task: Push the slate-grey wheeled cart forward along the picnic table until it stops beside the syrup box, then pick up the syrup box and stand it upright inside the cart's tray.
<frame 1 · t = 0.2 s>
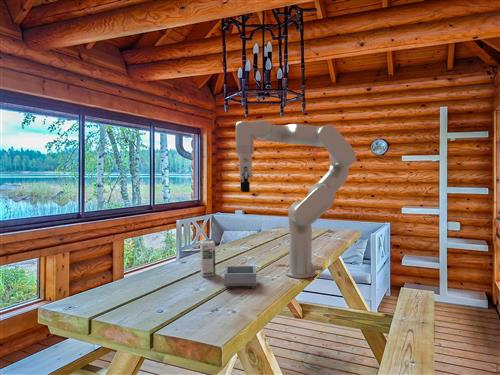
hand: (245, 191, 159), 36 cm above the table, tool pointing down, fingers open, 9 cm apart
cart: (240, 277, 147), point 3 cm above the table, slide at 0.0 cm
syrup box: (207, 275, 163), on the table
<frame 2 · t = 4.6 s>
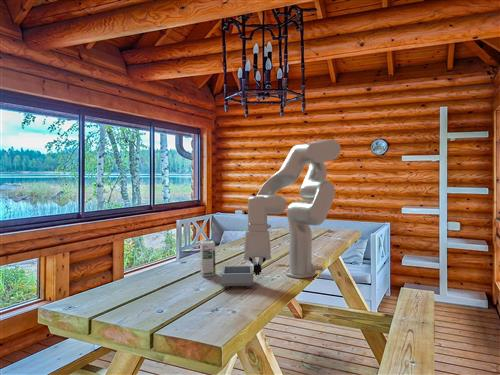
hand: (257, 274, 147), 4 cm above the table, tool pointing down, fingers closed
cart: (237, 277, 147), point 3 cm above the table, slide at 1.2 cm, touching gripper
everything else where it was.
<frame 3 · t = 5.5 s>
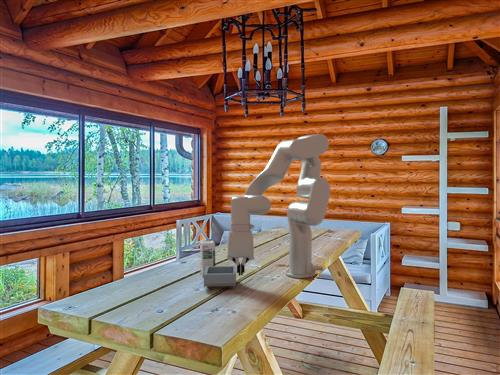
hand: (240, 274, 147), 4 cm above the table, tool pointing down, fingers closed
cart: (220, 277, 147), point 3 cm above the table, slide at 7.7 cm, touching gripper
everything else where it was.
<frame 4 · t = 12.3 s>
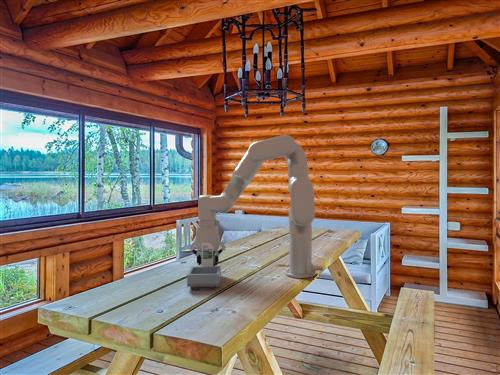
hand: (207, 264, 163), 5 cm above the table, tool pointing down, fingers closed on syrup box, 6 cm apart
cart: (204, 277, 147), point 3 cm above the table, slide at 14.0 cm
syrup box: (207, 275, 163), on the table, touching gripper
when the fingers open (8 cm above the table, at t = 18.9 s): syrup box drops 1 cm, resting on cart.
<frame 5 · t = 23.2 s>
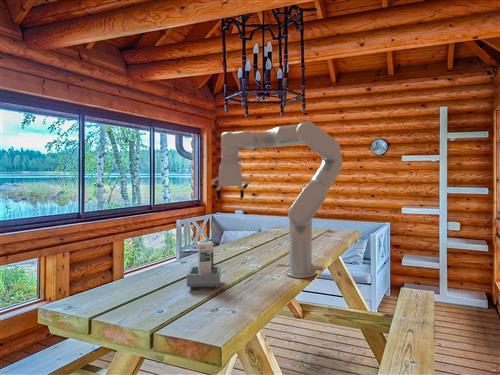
hand: (230, 199, 166), 32 cm above the table, tool pointing down, fingers open, 9 cm apart
cart: (204, 277, 147), point 3 cm above the table, slide at 14.0 cm, touching syrup box
syrup box: (205, 279, 147), point 2 cm above the table, touching cart
at the end: cart slide at 14.0 cm; syrup box inside the target area (0.2 cm from its centre), point 2.5 cm above the table; syrup box tilted 0° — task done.
